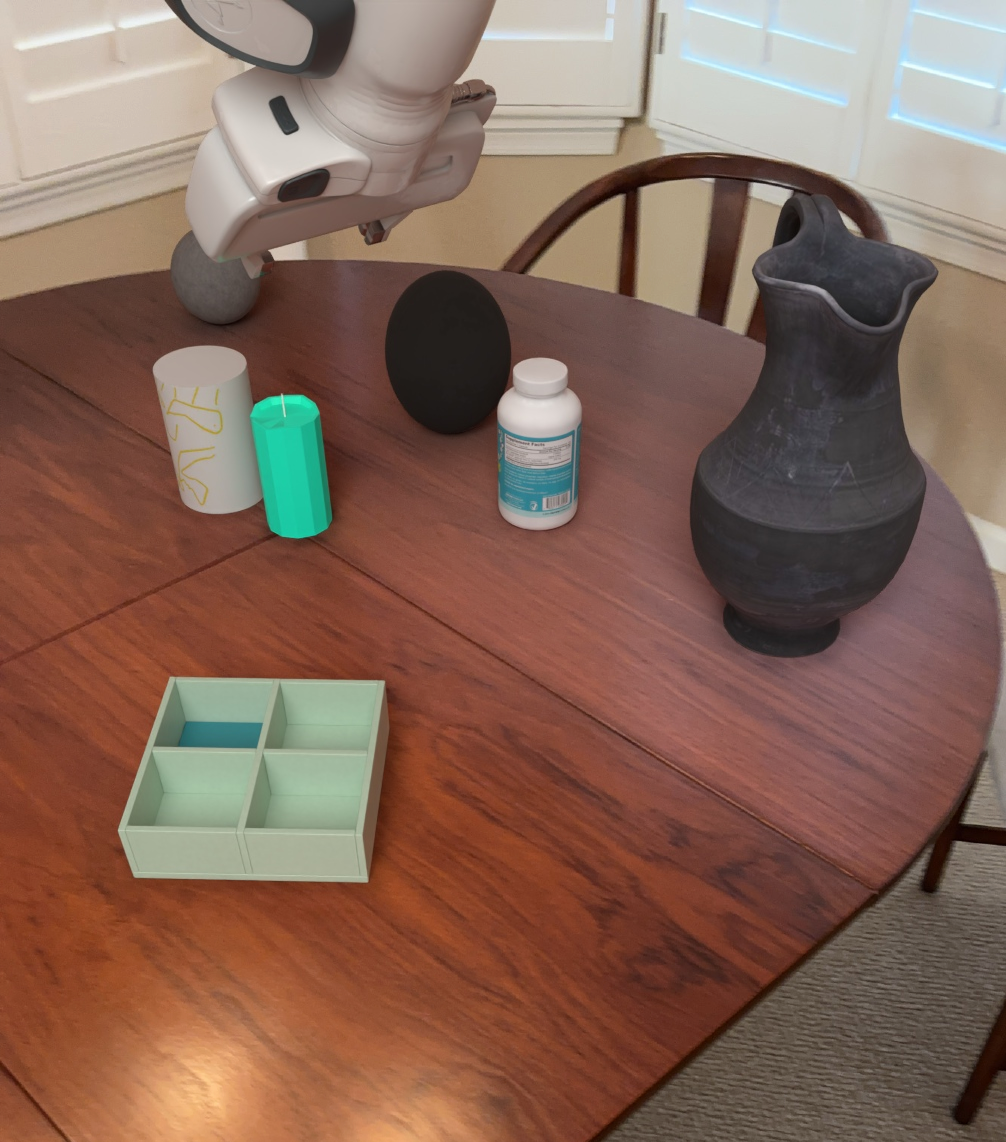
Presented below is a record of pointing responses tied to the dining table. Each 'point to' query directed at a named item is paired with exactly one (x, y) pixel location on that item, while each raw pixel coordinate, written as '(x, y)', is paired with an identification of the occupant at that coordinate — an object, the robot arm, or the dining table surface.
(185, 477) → the cup
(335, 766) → the compartment tray
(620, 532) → the dining table surface
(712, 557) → the pitcher
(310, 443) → the candle
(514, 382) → the pill bottle
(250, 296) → the decorative ball
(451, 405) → the decorative egg
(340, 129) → the robot arm
